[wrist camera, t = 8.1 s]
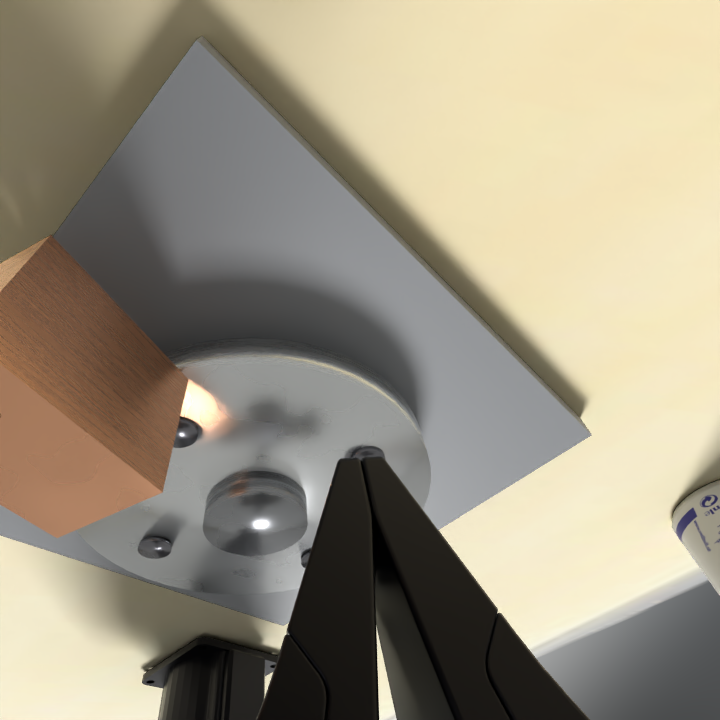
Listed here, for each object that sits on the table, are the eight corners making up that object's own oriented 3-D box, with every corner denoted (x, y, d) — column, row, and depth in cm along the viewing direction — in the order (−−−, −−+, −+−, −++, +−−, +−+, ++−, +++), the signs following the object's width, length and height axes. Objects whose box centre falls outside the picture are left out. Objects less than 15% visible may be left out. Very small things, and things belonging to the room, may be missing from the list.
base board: (283, 608, 29) (283, 634, 28) (-117, 470, 19) (-144, 503, 18) (580, 418, 22) (597, 443, 21) (202, 35, 12) (192, 42, 11)
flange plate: (464, 501, 22) (507, 624, 18) (215, 596, 24) (202, 725, 20) (242, 115, 11) (220, 194, 7) (-161, 345, 14) (-355, 506, 10)
